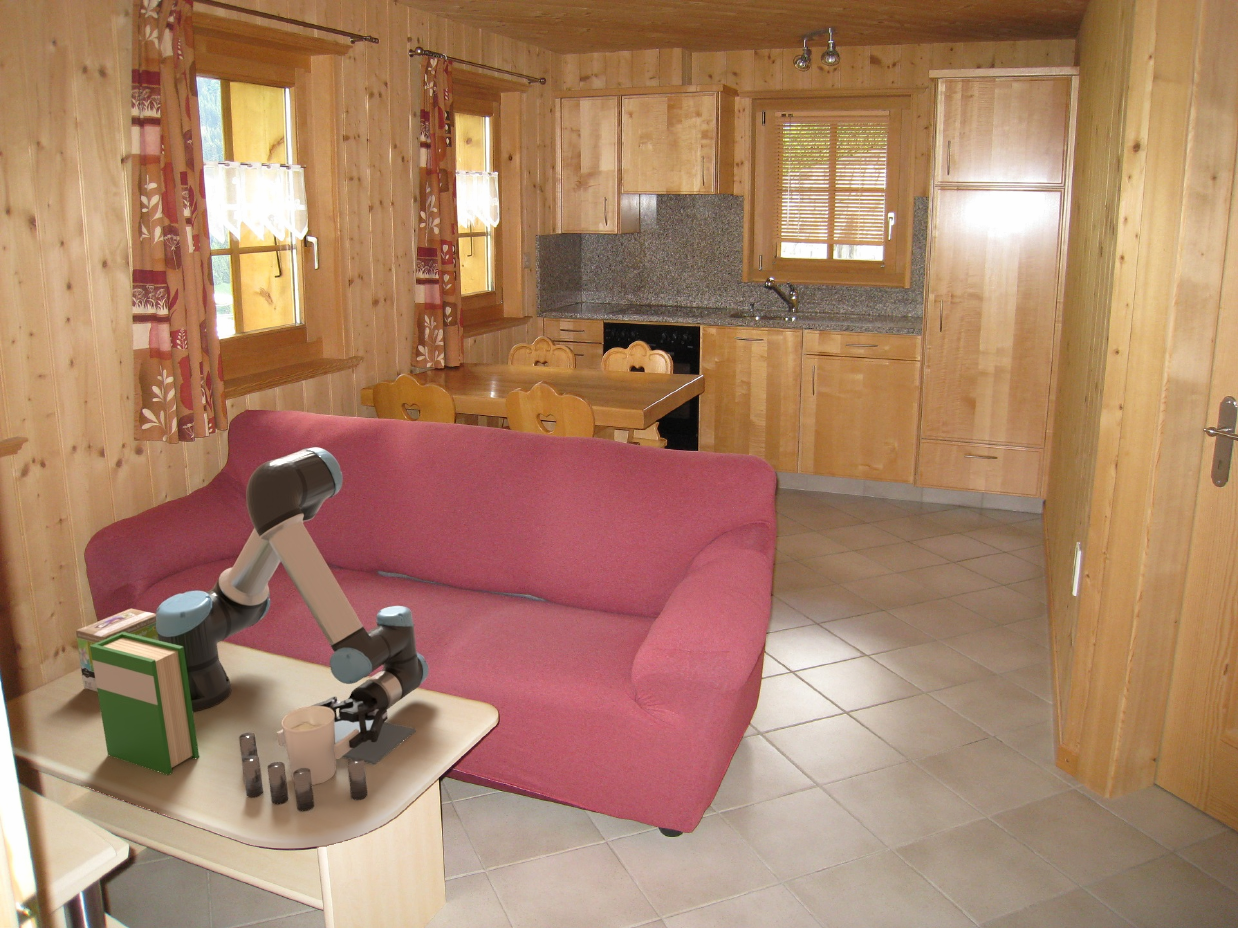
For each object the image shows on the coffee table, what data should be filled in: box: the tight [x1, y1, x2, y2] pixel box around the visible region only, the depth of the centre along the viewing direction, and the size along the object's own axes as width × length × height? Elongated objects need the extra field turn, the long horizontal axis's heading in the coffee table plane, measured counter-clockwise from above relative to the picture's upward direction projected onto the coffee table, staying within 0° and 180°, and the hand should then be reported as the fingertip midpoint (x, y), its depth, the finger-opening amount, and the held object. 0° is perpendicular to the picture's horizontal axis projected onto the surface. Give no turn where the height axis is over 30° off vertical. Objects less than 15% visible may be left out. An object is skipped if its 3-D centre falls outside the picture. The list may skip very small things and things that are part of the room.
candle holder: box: [280, 705, 337, 786], centre depth 193 cm, size 10×10×12 cm
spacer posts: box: [238, 731, 368, 812], centre depth 188 cm, size 29×10×7 cm, turn 66°
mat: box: [335, 720, 417, 765], centre depth 207 cm, size 18×14×1 cm
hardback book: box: [90, 632, 200, 776], centre depth 199 cm, size 18×7×24 cm, turn 63°
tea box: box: [75, 608, 159, 693], centre depth 235 cm, size 15×10×15 cm, turn 155°
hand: (307, 745), depth 191 cm, fingers open, 13 cm apart
